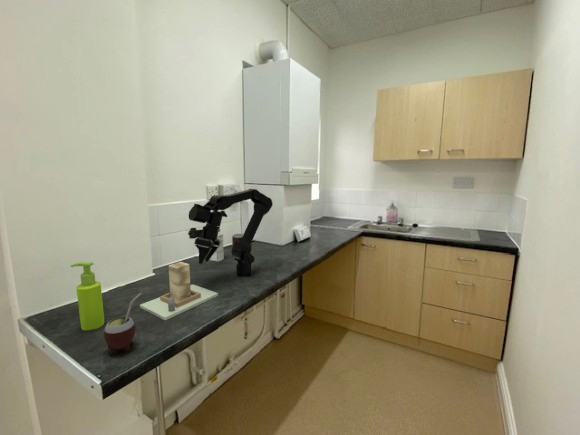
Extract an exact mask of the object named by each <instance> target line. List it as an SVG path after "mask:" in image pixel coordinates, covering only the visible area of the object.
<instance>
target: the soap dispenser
mask: <svg viewBox="0 0 580 435" xmlns="http://www.w3.org/2000/svg"><path fill="white" fill-rule="evenodd" d="M92 265H94V262H92V261H90V262H89V261H87V262H86V261H80V262H76V263H73V264H71V265H70V267H71V268H74V267H82V269H83V272H82V273H81V274H80V282H81V283H80V284H79V285H76V294H77V303H78V304H77V305H78V313H79V320H80V321H79V322H80V329H81V330H82V331H87V332H88V331H92V330H93V331H94V330H96V329H99V328H101V327H102V326H104V324H105V314H104V304H103V294H102V293H103V292H102V285H101V282H100V281H96V276H95V272H94V271H92V270H91V266H92Z"/></svg>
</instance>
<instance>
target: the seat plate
mask: <svg viewBox="0 0 580 435" xmlns="http://www.w3.org/2000/svg"><path fill="white" fill-rule="evenodd" d="M190 289H191V296H190V297H188V298H186V299H183V300H181V301H179V302H176V301H174V298H170V292H167V293H165V294H163V295H160V296H159V297H157V298H154V299H152V300H149V301H147V302H143V303H140V304H139V308H140V309H142V310H144V311H146V312H148V313H150V314H151V315H154V316H156V317H158V318H159V319H161V320H164V321H168V320H169V319H172V318H174V317H175V316H178V315H179V314H182V313H184V312H186V311H188V310H190V309H193V308H196V307H197V306H200V305H201V304H203V303H206V302H209V301H210V300H212V299H214V298H216V297H219V292H216V291H213V290H210V289H207V288H204V287H202V286H199V285H195V284H190Z"/></svg>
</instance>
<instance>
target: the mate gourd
mask: <svg viewBox="0 0 580 435" xmlns="http://www.w3.org/2000/svg"><path fill="white" fill-rule="evenodd" d="M141 295H142V292H140V293H138V294H137V295H136V296H135V297H134V298H133V299H132V300H131V301H130V302H129V305H128V309H127V312H126V314H125V316H118V317H114V318H113V319H110V321H108V322H107V324H106V325H105V327H104V331H103V337H104V340H105V343H106V345H107V347H108V350H109V352H110V353H109V356H111V357H112V356H114V355H115V354H116V355H117V354H118V353H119V352H124V351H125V353H127V352H129V353H130V352H132V350H131V349H130V347H131V345H132V344H134V341H133V340H134V338H135V334H136V324H135V322H134V320H133V318H132V317H129V315H130V313H131V309H132V306H133V305H134V302H135V301H136V300H137V299H138V298H139V297H140V296H141Z"/></svg>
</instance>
